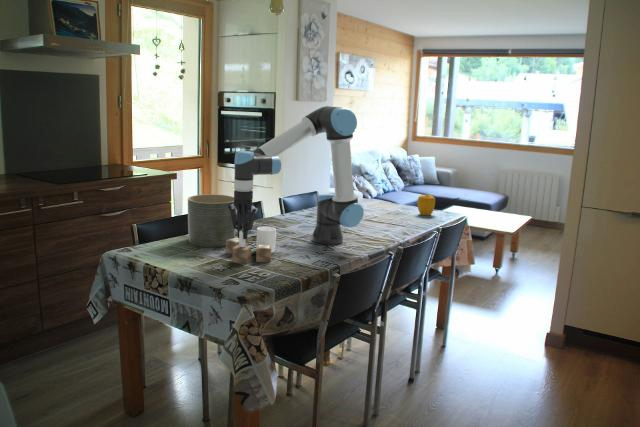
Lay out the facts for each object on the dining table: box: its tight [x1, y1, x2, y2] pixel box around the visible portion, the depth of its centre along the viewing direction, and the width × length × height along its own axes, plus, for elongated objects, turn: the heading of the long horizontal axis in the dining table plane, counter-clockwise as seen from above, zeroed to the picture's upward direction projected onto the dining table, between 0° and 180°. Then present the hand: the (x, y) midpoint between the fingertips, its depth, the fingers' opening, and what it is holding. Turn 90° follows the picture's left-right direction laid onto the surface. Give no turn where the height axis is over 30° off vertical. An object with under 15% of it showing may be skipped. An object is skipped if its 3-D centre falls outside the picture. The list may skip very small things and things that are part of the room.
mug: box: [255, 225, 277, 254], centre depth 243 cm, size 12×8×10 cm
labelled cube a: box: [225, 237, 247, 256], centre depth 237 cm, size 6×6×6 cm
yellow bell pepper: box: [417, 194, 436, 217], centre depth 338 cm, size 11×11×13 cm
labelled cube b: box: [255, 244, 272, 263], centre depth 229 cm, size 6×6×6 cm
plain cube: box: [232, 245, 252, 265], centre depth 226 cm, size 6×6×6 cm
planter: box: [187, 193, 237, 248], centre depth 252 cm, size 22×22×20 cm
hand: (242, 246), depth 226 cm, fingers closed
